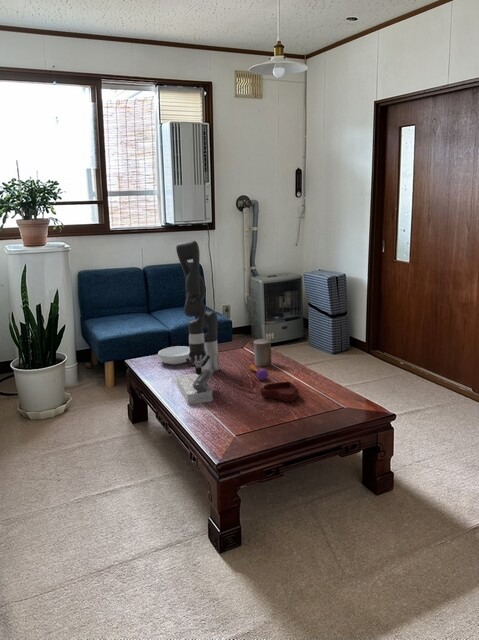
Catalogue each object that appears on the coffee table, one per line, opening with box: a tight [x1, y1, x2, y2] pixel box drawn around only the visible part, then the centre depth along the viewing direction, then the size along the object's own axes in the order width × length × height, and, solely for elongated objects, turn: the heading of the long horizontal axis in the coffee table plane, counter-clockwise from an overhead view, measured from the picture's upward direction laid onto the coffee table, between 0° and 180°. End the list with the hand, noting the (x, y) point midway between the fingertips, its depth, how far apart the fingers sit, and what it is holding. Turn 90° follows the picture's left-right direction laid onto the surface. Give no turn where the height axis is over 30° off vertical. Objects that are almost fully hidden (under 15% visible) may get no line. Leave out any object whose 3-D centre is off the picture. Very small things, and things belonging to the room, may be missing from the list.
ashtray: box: [259, 381, 299, 403], centre depth 268 cm, size 18×16×5 cm
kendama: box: [249, 364, 269, 381], centre depth 298 cm, size 6×6×20 cm
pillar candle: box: [253, 338, 273, 368], centre depth 315 cm, size 10×10×15 cm
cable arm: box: [193, 368, 214, 389], centre depth 273 cm, size 5×22×3 cm, turn 169°
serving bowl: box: [157, 345, 192, 365], centre depth 327 cm, size 21×21×7 cm
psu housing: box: [176, 373, 214, 406], centre depth 277 cm, size 12×28×7 cm, turn 17°
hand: (198, 374), depth 282 cm, fingers closed
